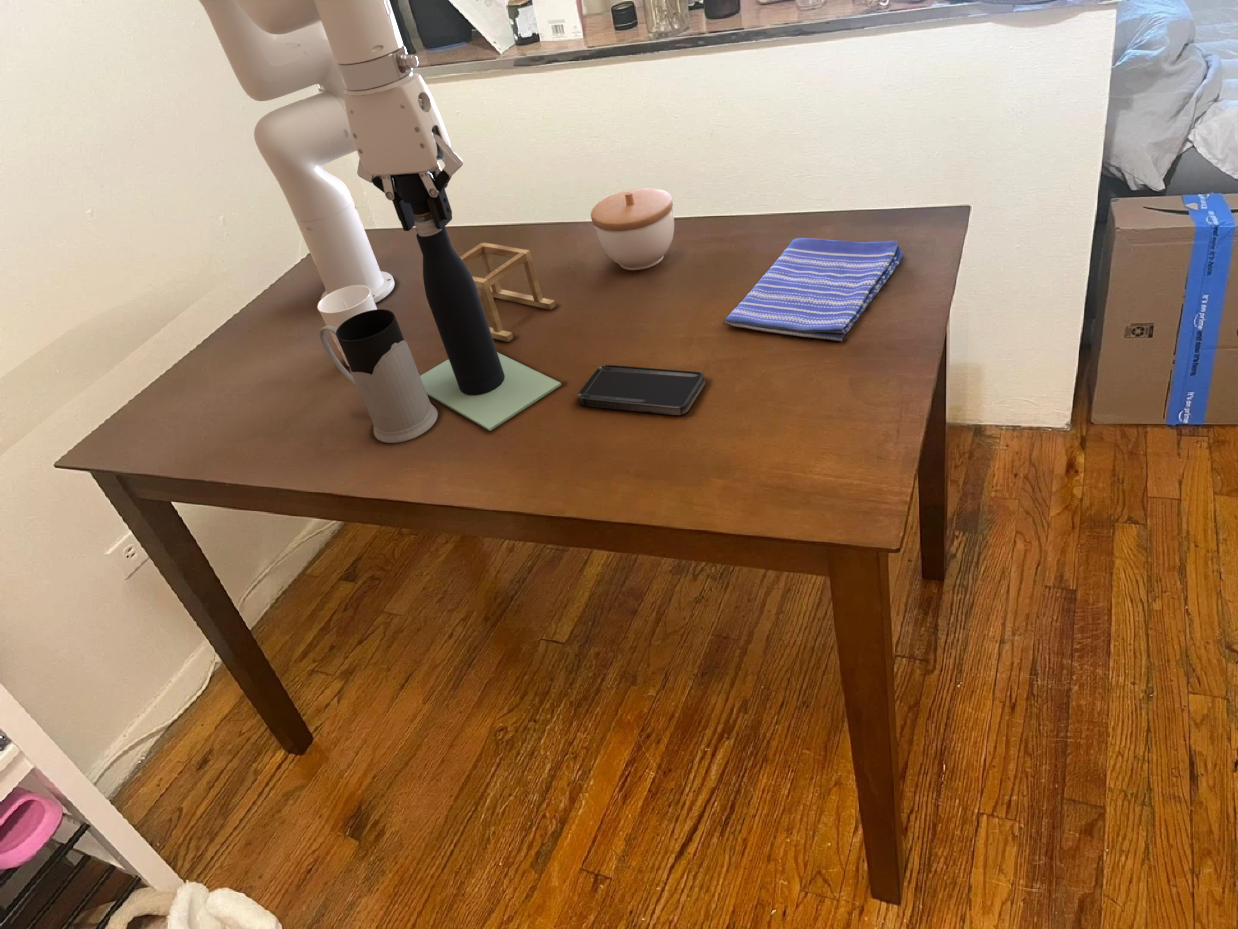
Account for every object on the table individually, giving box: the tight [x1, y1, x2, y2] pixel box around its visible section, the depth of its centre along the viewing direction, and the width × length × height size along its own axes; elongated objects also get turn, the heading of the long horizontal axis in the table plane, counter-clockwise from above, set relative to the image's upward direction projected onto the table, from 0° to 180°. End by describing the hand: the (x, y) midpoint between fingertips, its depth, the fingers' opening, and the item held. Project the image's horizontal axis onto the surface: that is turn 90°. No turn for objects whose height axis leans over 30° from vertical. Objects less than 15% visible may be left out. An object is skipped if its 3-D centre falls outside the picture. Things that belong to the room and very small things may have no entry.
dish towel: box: [723, 237, 905, 342], centre depth 130 cm, size 17×24×3 cm
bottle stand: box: [460, 241, 557, 343], centre depth 142 cm, size 14×11×9 cm
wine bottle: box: [394, 173, 505, 395], centre depth 120 cm, size 6×6×30 cm
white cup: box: [316, 285, 378, 368], centre depth 139 cm, size 8×8×10 cm
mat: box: [420, 351, 562, 432], centre depth 129 cm, size 20×12×1 cm, turn 42°
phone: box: [577, 364, 706, 416], centre depth 119 cm, size 8×1×15 cm
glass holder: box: [318, 308, 439, 444], centre depth 123 cm, size 9×14×15 cm, turn 58°
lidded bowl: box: [590, 187, 675, 271], centre depth 147 cm, size 13×13×11 cm
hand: (428, 223), depth 115 cm, fingers closed on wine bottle, 3 cm apart
